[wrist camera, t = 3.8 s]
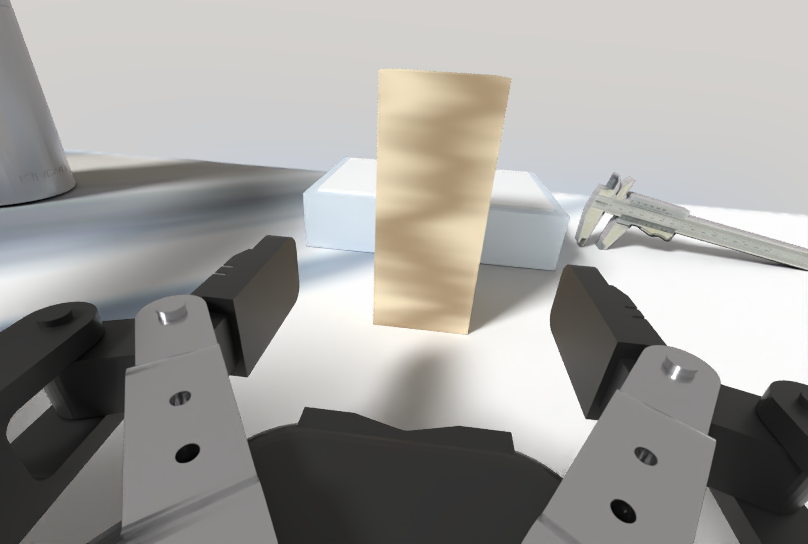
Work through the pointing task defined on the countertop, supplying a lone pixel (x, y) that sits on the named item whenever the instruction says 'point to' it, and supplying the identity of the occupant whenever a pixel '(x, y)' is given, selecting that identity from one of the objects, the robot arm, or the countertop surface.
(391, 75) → the maple block
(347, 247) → the white chamfered block
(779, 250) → the caliper
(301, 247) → the countertop surface
